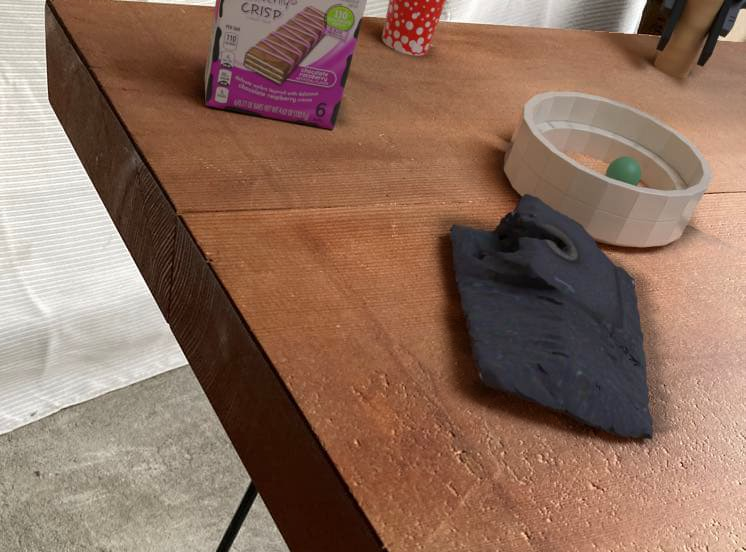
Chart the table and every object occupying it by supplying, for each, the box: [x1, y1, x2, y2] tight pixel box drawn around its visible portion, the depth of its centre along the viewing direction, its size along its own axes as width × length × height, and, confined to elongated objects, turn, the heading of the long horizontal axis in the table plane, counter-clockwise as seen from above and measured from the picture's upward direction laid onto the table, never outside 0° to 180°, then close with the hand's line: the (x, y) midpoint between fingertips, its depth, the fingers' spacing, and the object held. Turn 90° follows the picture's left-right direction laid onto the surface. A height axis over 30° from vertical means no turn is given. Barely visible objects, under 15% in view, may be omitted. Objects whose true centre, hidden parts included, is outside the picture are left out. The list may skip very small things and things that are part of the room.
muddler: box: [653, 0, 725, 79], centre depth 106 cm, size 4×4×13 cm
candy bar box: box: [204, 0, 368, 130], centre depth 77 cm, size 11×5×16 cm, turn 97°
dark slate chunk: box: [449, 194, 654, 440], centre depth 68 cm, size 15×22×5 cm
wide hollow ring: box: [503, 90, 713, 248], centre depth 84 cm, size 17×17×6 cm
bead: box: [605, 157, 641, 187], centre depth 85 cm, size 3×3×3 cm
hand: (683, 51), depth 105 cm, fingers closed on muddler, 4 cm apart
